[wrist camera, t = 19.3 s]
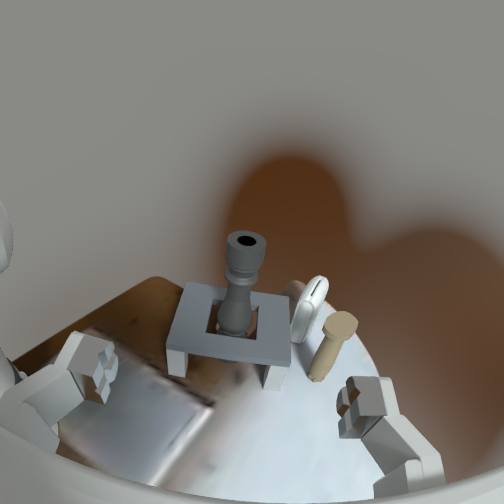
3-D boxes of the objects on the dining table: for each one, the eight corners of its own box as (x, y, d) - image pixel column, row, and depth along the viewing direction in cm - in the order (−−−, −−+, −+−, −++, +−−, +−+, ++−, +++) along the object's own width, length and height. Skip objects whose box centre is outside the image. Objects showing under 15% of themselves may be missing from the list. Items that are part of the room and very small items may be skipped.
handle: (295, 377, 56) (318, 323, 48) (317, 360, 60) (341, 307, 52) (313, 393, 53) (341, 341, 45) (334, 375, 57) (363, 323, 49)
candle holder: (217, 336, 62) (229, 226, 49) (247, 342, 62) (269, 234, 48) (210, 359, 57) (221, 248, 43) (243, 366, 57) (266, 256, 43)
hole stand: (168, 374, 53) (165, 343, 48) (186, 313, 66) (186, 281, 61) (279, 390, 53) (291, 362, 48) (279, 327, 67) (288, 296, 62)
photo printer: (301, 310, 72) (315, 267, 65) (318, 318, 71) (334, 275, 64) (283, 338, 64) (297, 294, 57) (302, 347, 63) (319, 303, 56)
